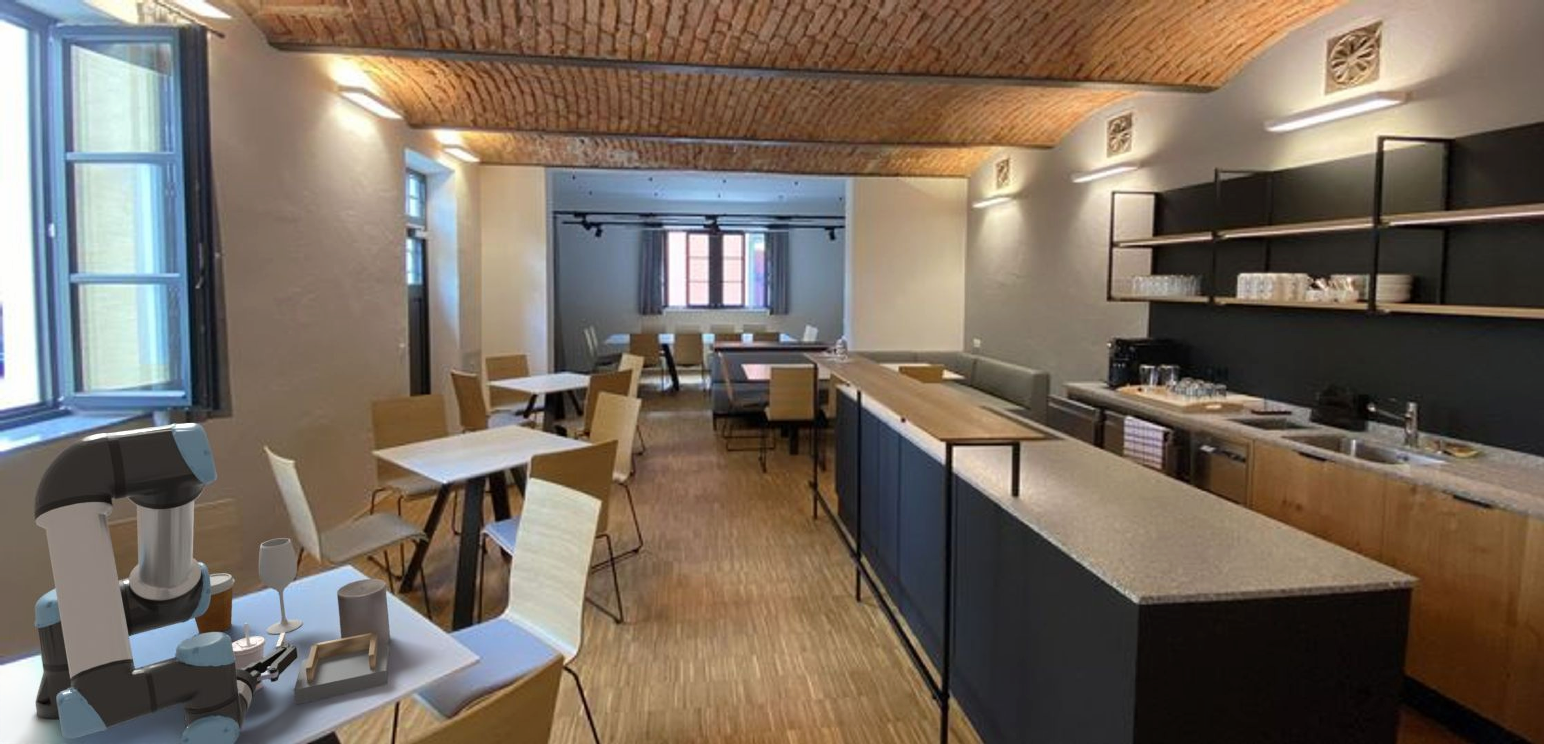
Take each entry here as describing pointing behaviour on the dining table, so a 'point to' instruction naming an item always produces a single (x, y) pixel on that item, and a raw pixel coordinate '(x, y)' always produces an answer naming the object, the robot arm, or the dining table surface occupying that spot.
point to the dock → (342, 675)
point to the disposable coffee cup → (217, 605)
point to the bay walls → (341, 650)
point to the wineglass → (278, 576)
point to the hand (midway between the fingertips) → (251, 644)
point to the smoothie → (248, 651)
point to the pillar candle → (364, 609)
